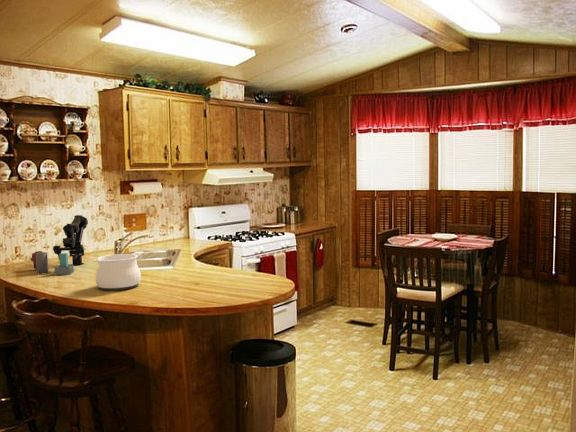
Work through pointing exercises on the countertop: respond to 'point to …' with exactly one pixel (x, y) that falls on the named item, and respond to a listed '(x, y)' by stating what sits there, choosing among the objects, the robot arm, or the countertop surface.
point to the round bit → (42, 262)
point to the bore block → (64, 270)
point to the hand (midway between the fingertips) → (66, 259)
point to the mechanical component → (35, 259)
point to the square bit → (63, 259)
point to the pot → (118, 272)
